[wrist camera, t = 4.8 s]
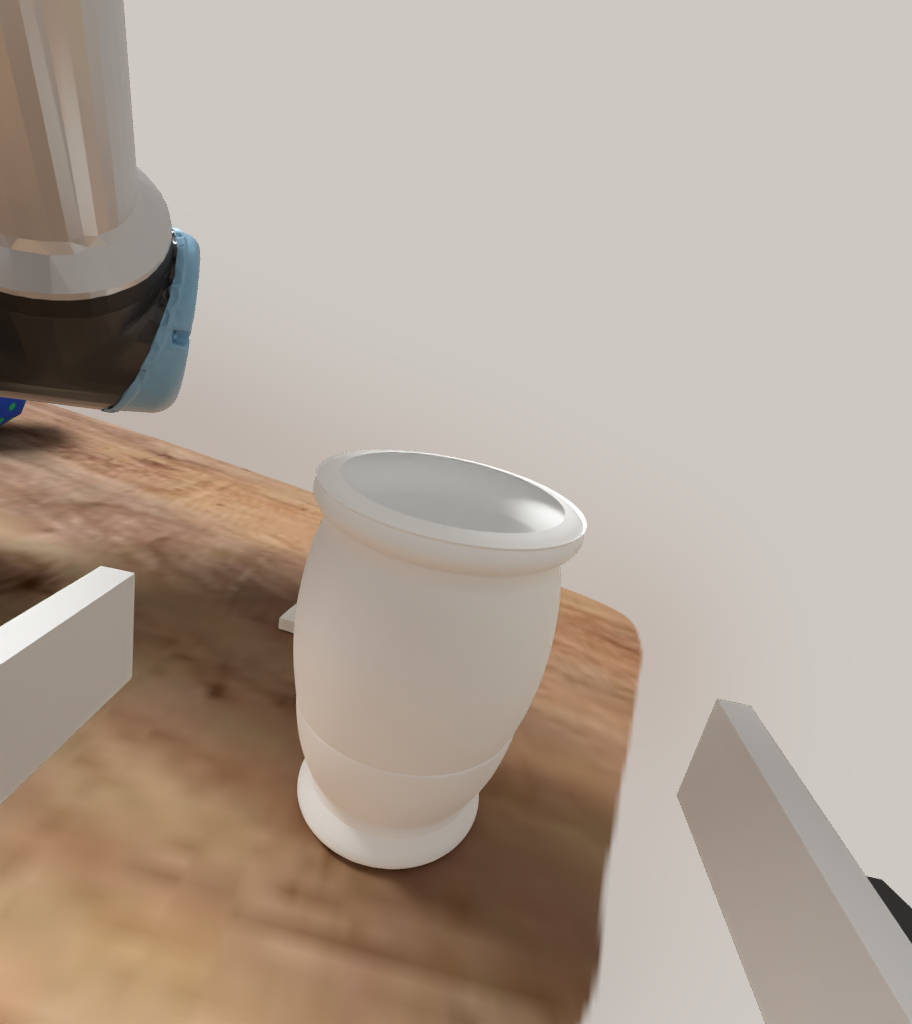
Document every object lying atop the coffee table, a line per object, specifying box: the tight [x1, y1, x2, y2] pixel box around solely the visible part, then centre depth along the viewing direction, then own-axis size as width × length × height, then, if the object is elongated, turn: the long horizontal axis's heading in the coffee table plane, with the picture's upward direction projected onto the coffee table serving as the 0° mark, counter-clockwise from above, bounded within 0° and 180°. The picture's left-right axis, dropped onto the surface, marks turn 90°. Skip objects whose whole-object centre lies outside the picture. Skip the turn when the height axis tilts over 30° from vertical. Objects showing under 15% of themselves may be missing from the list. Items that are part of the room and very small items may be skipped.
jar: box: [293, 449, 587, 869], centre depth 24 cm, size 11×10×15 cm
